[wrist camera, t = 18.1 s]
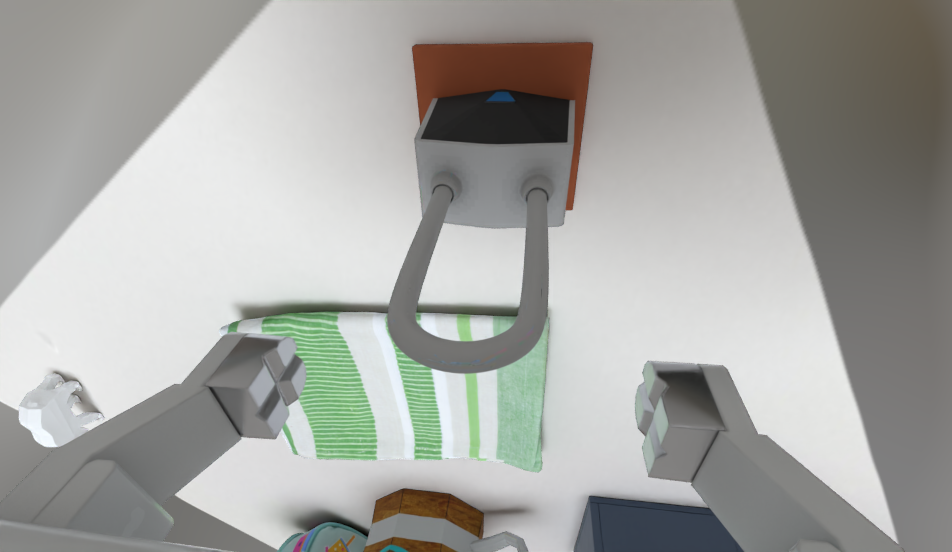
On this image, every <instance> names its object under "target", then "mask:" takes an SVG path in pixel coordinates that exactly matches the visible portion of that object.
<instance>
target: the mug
mask: <svg viewBox="0 0 952 552" xmlns="http://www.w3.org/2000/svg"><path fill="white" fill-rule="evenodd" d="M483 521H484V514H483V513H482V512H480V511H478V510H476V509H475V508H473V507H471V506H470V505H468V504H466V503H464V502H463V501H461V500H459V499H458V498H456V497H454V496H452V495H451V494H445V493H436V492H428V491H419V490H410V489H402V490H399V491H397V492H395V493H392V494H390V495H388V496H386V497H383V498H381V499H379V500H376V504H375V509H374V515H373V520H372V525H371V529H370V532H369V535H368V539H367V542H366V546H365V548H364V551H363V552H495V551H498V550H500V549H502V548H504V547H507V546H509V545H511V546H513V547H516V548H517V550H518V552H528V549H527V547H526V544H525V542H524V540H523V539H522V538H520V537H518V536H516V535H514V534H511V533H509V532H507V531H505V532H502V533H499V534H497V535H494V536H491V537H487V538H483V539H482V537H483Z"/></svg>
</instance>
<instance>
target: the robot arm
mask: <svg viewBox="0 0 952 552" xmlns="http://www.w3.org/2000/svg"><path fill="white" fill-rule="evenodd" d="M297 349H298V347H297V345H296V343H295V341H294V338H291V337H286V336H275V335H265V334H255V333H241V332H229V333H227V334H225V335H223V337H222V338H221V339H220V340H219V341H218V342H217V343H216V345H215V346H214V347H213V348H212V349H211V350H210V351H209V353H208V354H207V355H206V356H205V357H204V358H203V360H202V361H201V362H200V363H199V364H198V365H197V366H196V368H195V369H194V370H193V371H192V372H191V373H190V374H189V376H188V377H187V378H186V379H185V380H184V381H183V382H182V384H174V385H172V386H170V387H168V388H166V389H165V390H163V391H161V392H159V393H157V394H155V395H154V396H152V397H150V398H148V399H146V400H145V401H143V402H141V403H139V404H137V405H135V406H134V407H132V408H130V409H128V410H126V411H125V412H123V413H121V414H119V415H117V416H115V417H114V418H112V419H110V420H108V421H106V422H105V423H103V424H101V425H99V426H97V427H95V428H94V429H92V430H90V431H88V432H86V433H84V434H83V435H81V436H79V437H77V438H75V439H74V440H72V441H70V442H68V443H66V444H64V445H63V446H61V447H59V448H57V449H55V450H54V451H52V452H51V453H50V454H49V455H48V456H47V457H46V458H45V459H44V460H43V461H42V462H41V463H40V464H39V465H38V466H36V467H35V468H34V469H33V470H32V471H31V472H30V473H29V474H28V475H27V476H26V477H25V478H24V479H23V480H22V481H21V482H20V483H19V484H18V485H17V486H16V487H15V488H14V489H13V490H12V491H11V492H10V493H9V494H8V495H7V496H6V497H5V498H4V499H3V500H2V501H1V502H0V552H233V551H226V550H219V549H212V548H204V547H196V546H190V545H183V544H175V543H168V542H163V541H164V539H165V538H166V536H167V535H168V533H169V532H170V530H171V529H172V527H173V525H174V524H173V518H172V517H171V516H170V515H169V514H168V513H167V512H166V511H165V510H164V509H163V508H162V507H161V505H162V504H164V503H165V502H166V501H167V500H168V499H170V498H171V497H172V496H173V495H174V494H176V493H177V492H178V491H179V490H181V489H182V488H183V487H184V486H185V485H187V484H188V483H189V482H190V481H191V480H193V479H194V478H195V477H196V476H197V475H199V474H200V473H201V472H202V471H203V470H205V469H206V468H207V467H208V466H209V465H211V464H212V463H213V462H214V461H216V460H217V459H218V458H219V457H220V456H222V455H223V454H224V453H225V452H226V451H228V450H229V449H230V448H231V447H232V446H234V445H235V444H236V443H237V442H238V441H240V440H241V437H249V438H263V439H276V438H277V436H278V434H279V432H280V431H281V429H282V427H283V425H284V424H285V422H286V420H287V418H288V417H289V415H290V414H289V409H288V406H289V405H290V404H292V403H293V402H295V401H296V400H298V399H299V397H300V395H301V393H302V391H303V390H304V387H305V382H306V378H307V374H306V367H305V364H304V361H303V360H302V359H301V358H299V357H298V356H297V355H296V354H295V352H296V350H297ZM642 373H643V377H644V381H645V382H644V383H642V384H641V385H639V386H638V389H637V393H636V401H635V413H636V420H637V426H638V429H639V430H640V431H641V432H642V433H643V434H644V435H645V436H646V437H645V440H644V443H643V446H642V450H643V454H644V459H645V464H646V468H647V473H648V477H651V478H659V479H667V480H675V481H683V482H691V483H692V484H691V485H692V486H693V488H694V489H695V490H696V491H697V493H698V494H699V495H700V496H701V498H702V499H703V500H704V502H705V503H706V504H707V505H708V507H709V508H710V509H711V510H712V512H713V513H714V514H715V515H716V517H717V518H718V519H719V520H720V522H721V523H722V524H723V525H724V527H725V528H726V529H727V530H728V532H729V533H730V534H731V535H732V537H733V538H734V539H735V541H736V542H737V543H738V544H739V546H740V547H741V548H742V549H743V551H744V552H905V551H904V549H903V548H902V547H900V546H899V545H898V544H897V543H896V542H895V541H893V540H892V539H891V538H890V537H889V536H887V535H886V534H885V533H884V532H883V531H881V530H880V529H879V528H878V527H876V526H875V525H874V524H873V523H872V522H870V521H869V520H868V519H867V518H866V517H864V516H863V515H862V514H861V513H860V512H858V511H857V510H856V509H855V508H854V507H852V506H851V505H850V504H849V503H848V502H846V501H845V500H844V499H843V498H842V497H840V496H839V495H838V494H837V493H836V492H834V491H833V490H832V489H831V488H829V487H828V486H827V485H826V484H825V483H823V482H822V481H821V480H820V479H819V478H817V477H816V476H815V475H814V474H813V473H811V472H810V471H809V470H808V469H807V468H805V467H804V466H803V465H802V464H801V463H799V462H798V461H797V460H796V459H795V458H793V457H792V456H791V455H790V454H789V453H787V452H786V451H785V450H784V449H782V448H781V447H780V446H779V445H778V444H776V443H775V442H774V441H773V440H772V439H770V438H769V437H768V436H767V435H761V434H758V433H757V431H756V429H755V427H754V424H753V422H752V420H751V418H750V416H749V414H748V412H747V410H746V407H745V405H744V403H743V401H742V399H741V397H740V395H739V393H738V391H737V388H736V386H735V384H734V382H733V380H732V378H731V376H730V374H729V372H728V369H726V368H725V367H724V366H723V365H708V364H694V363H677V362H660V361H647V363H646V364H645V366H644V369H643V372H642Z"/></svg>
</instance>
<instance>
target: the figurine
mask: <svg viewBox="0 0 952 552" xmlns="http://www.w3.org/2000/svg"><path fill="white" fill-rule="evenodd" d="M58 382H60V383H62V385H61V386H60V387H58V388H55V387H56V385H57V383H58ZM75 390H80V391H81V390H82V388H81V386H80V384H79V382H77V381H71V380H70V381H69V382H66V383H65V382H64V380H63V378H62V377H61V376H60V375H59V374H54V373H53V374H51V375H47V376H45V378H44V380H43V382H42V383H41V384H40V385H39V386H38V387H37V388H36V389H34V390H32V391H30V392H29V393H27V394H26V396H25V397H24V399H23V400H22V402H21V403H20V405H19V421H20V424H22V425H23V426H24V427H26V428H27V429H29V430H30V431H31V432H32V434H33V437H34V439H35V440H36V441H37V442H38V443H40V444H41V445H43V446H45V447H59V446H63V445H64V444H66V443H68V442H70V441H72V440H74V439H75V438H77V437H79V436H81V435H83V434H84V433H86V432H88V429H87V428H84V427H81V426H83V425H85V424H88V423H90V422H93V421H95V420H96V419H99V420H104V417H103V416H102V414H101V413H97V412H85V413H82V414H80V415H77V416H76V415H75V414H73V412H72V411H71V408H72V406H73V404H74V402H76V403H79V404H81V401H80V399H79V397H78V396H76V395H72V394H71V393H72V392H74V391H75ZM70 394H71V395H70Z"/></svg>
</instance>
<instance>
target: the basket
mask: <svg viewBox="0 0 952 552" xmlns="http://www.w3.org/2000/svg"><path fill="white" fill-rule="evenodd" d="M574 552H744V551H743V549H742V548H741V547H740V546H739V544H738V543H737V542H736V541H735V539H734V538H733V537H732V535H731V534H730V533H729V532H728V530H727V529H726V528H725V527H724V525H723V524H722V523H721V522H720V520H719V519H718V518H717V517H716V515H715V514H714V513H713V512H712V510H711V509H706V508H697V507H687V506H677V505H668V504H658V503H649V502H639V501H629V500H620V499H610V498H601V497H591V496H589V499H588V503H587V506H586V510H585V513H584V517H583V521H582V524H581V528H580V531H579V535H578V538H577V542H576V545H575V549H574Z"/></svg>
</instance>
